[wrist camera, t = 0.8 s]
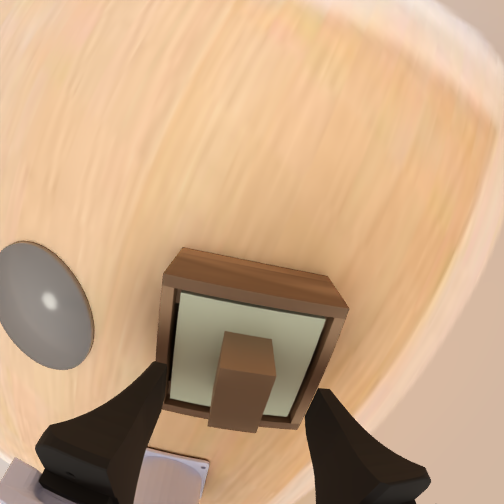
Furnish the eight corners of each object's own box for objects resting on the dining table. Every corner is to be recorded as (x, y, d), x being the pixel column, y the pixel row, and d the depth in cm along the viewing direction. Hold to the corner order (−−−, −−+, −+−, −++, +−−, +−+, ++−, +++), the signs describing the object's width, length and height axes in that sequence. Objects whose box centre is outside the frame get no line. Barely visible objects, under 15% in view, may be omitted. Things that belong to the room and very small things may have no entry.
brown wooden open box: (289, 386, 21) (297, 429, 16) (169, 365, 20) (154, 407, 16) (327, 276, 18) (349, 308, 14) (182, 247, 18) (163, 273, 13)
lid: (286, 410, 17) (292, 453, 14) (171, 391, 17) (159, 434, 13) (323, 313, 15) (341, 353, 12) (183, 287, 15) (165, 323, 11)
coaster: (98, 382, 21) (95, 386, 20) (5, 342, 20) (1, 345, 19) (93, 258, 18) (89, 261, 17) (-10, 230, 17) (-15, 231, 17)
